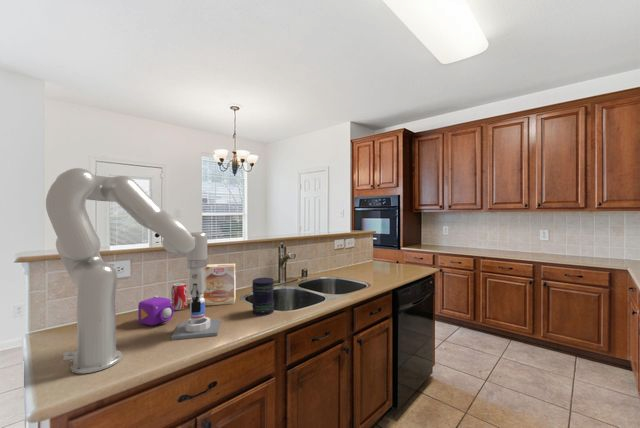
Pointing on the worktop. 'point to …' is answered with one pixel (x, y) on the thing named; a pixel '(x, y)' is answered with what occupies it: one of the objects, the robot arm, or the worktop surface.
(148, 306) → the toy camera
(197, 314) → the pill bottle
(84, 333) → the robot arm
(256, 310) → the storage jar
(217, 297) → the coffeecake box
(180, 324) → the mount board
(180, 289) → the soda can
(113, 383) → the worktop surface
